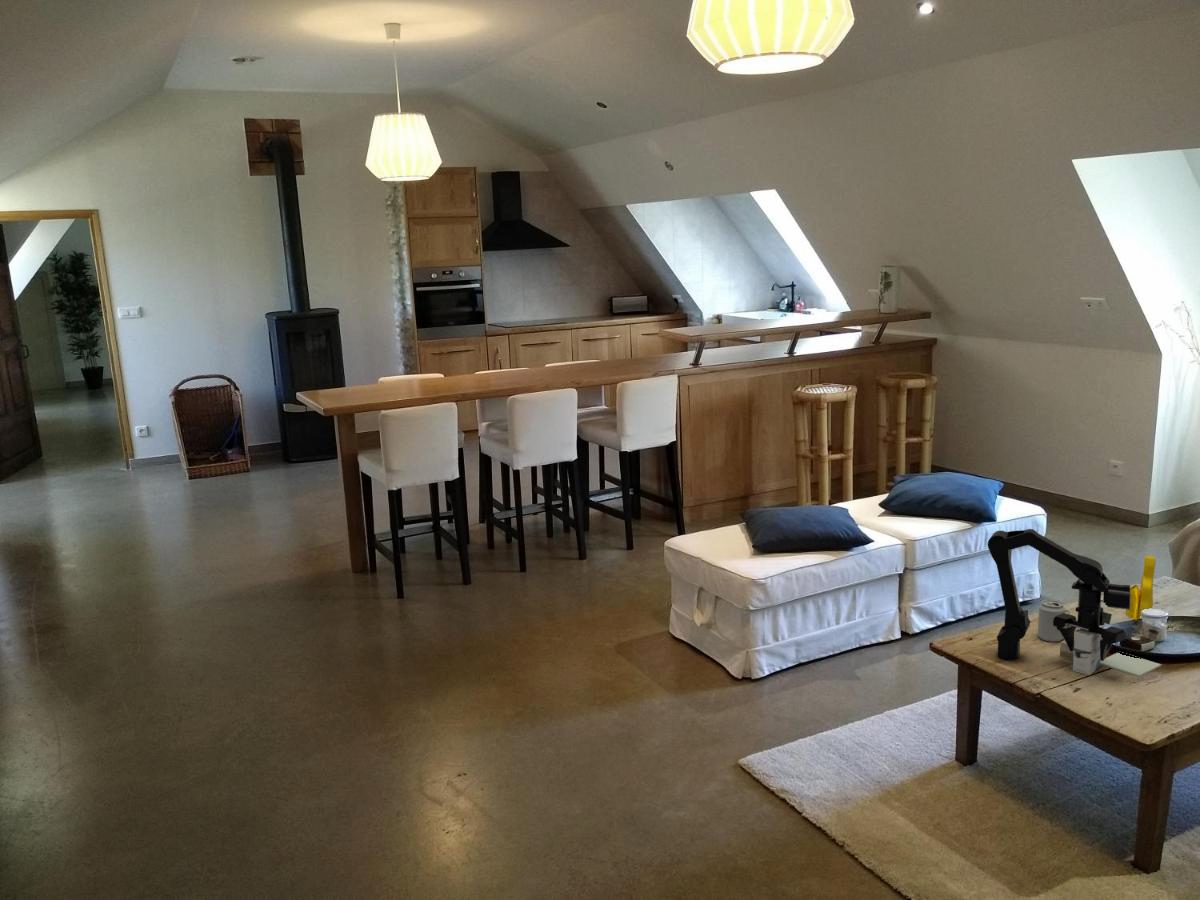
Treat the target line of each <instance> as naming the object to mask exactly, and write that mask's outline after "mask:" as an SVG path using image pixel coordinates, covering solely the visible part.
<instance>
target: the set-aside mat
mask: <svg viewBox="0 0 1200 900" xmlns="http://www.w3.org/2000/svg"><path fill="white" fill-rule="evenodd" d="M1140 658H1141V657H1139V658H1134V657H1130V656H1126V655H1122V654H1120V653H1118V652H1116V653H1113V654H1112V655H1109V656H1106V658H1105V660H1104V661H1101V660H1100V666H1104V667H1107V668H1111V669H1114V670H1117V671H1119V672H1123V673H1127V674H1129V675H1132V676H1136V677H1137V678H1140V677H1142V676H1144V675H1146V674H1148V673H1151V672H1152V671H1154V670H1156V669H1158V668H1161V667H1162V664H1161V663H1158V662H1155V661H1151V660H1148V659H1145V658H1141V659H1140Z"/></svg>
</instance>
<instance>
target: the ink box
mask: <svg viewBox="0 0 1200 900" xmlns="http://www.w3.org/2000/svg"><path fill="white" fill-rule="evenodd" d="M1100 640H1102V638H1101V634H1097V633H1094V632H1090V631H1087V630H1083V629H1080V628H1079V630H1077V631H1076V632H1074V657H1073V660H1072V671H1073V672H1075V673H1076V672H1077V673H1079V674H1083V675H1086V676H1091V675H1092V674H1093V673H1094V672H1095V671H1097V669H1098V668H1100V666H1101V664H1100V661H1101V658H1100Z"/></svg>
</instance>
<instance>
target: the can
mask: <svg viewBox="0 0 1200 900" xmlns="http://www.w3.org/2000/svg"><path fill="white" fill-rule="evenodd" d="M1062 613H1066V607H1065V606H1064V603H1063V602H1062V601H1059V600H1055V599H1044V600H1041V603H1040V604H1039V606H1038V624H1037V636H1038V637H1039V638H1040V639H1041V640H1043V641H1045V642H1049V643H1057V642H1062V641H1063V639H1064V637H1063V636H1062V634H1061V632H1060V631H1059V630H1057V627H1056V626H1053V618H1054V617H1055V616H1057V615H1060V614H1062ZM1064 640H1065V639H1064Z"/></svg>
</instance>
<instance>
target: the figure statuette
mask: <svg viewBox="0 0 1200 900" xmlns="http://www.w3.org/2000/svg"><path fill="white" fill-rule="evenodd" d="M1155 569H1156V558H1155V556H1152V555H1145V557H1144V562H1143V572H1142V576H1141V580H1140V587H1139V585H1138V584H1134V585H1133V586H1130V594H1131V602H1130V610H1127V609H1125V615H1126V616H1127V617H1128V618H1130V619H1132V620H1133V621H1136V622H1137V621H1138V619H1140V616H1141V611H1142V610H1144V609H1149V608H1152V609H1153V606H1154V592H1153V590H1154V589H1153V588H1154V576H1155Z"/></svg>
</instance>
